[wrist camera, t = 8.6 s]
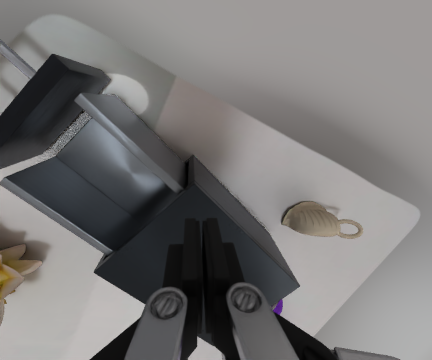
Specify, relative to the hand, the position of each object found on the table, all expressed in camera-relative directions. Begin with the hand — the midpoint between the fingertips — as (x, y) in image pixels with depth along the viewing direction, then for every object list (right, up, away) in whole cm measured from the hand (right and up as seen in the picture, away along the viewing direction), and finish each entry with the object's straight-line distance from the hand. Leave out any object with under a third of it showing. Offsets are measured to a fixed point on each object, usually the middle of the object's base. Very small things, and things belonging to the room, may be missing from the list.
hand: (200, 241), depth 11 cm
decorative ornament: (+15, -2, +20) cm, 25 cm away
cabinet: (-1, -3, +19) cm, 19 cm away
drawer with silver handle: (-12, +8, +12) cm, 19 cm away
